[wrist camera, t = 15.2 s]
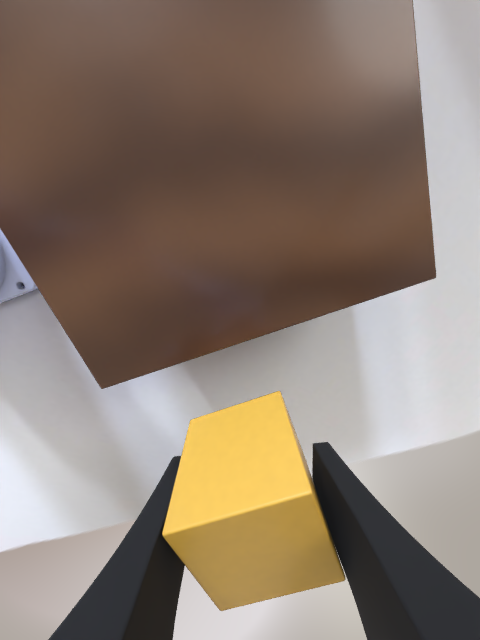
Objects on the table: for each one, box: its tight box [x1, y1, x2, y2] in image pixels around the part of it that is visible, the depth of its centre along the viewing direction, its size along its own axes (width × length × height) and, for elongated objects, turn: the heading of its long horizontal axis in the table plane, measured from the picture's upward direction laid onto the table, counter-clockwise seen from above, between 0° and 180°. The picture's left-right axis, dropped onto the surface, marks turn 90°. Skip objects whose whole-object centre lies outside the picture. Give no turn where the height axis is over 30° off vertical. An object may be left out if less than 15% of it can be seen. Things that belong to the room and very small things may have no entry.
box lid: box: [0, 0, 436, 389], centre depth 8 cm, size 12×15×1 cm
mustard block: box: [162, 391, 345, 611], centre depth 9 cm, size 4×4×4 cm
